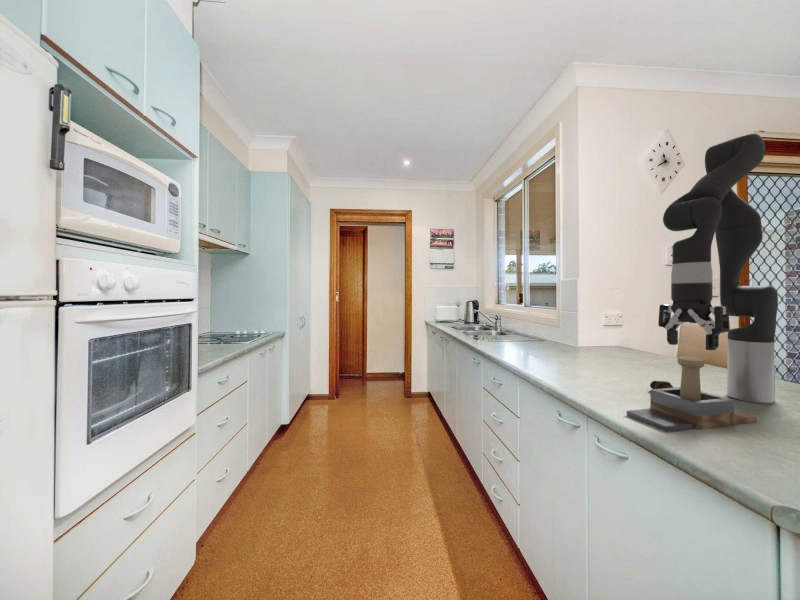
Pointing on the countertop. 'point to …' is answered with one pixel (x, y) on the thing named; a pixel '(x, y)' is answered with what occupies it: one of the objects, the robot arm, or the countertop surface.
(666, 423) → the grey storage bin
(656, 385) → the dark brown oblong lump
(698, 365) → the handle
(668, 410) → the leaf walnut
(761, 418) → the countertop surface
